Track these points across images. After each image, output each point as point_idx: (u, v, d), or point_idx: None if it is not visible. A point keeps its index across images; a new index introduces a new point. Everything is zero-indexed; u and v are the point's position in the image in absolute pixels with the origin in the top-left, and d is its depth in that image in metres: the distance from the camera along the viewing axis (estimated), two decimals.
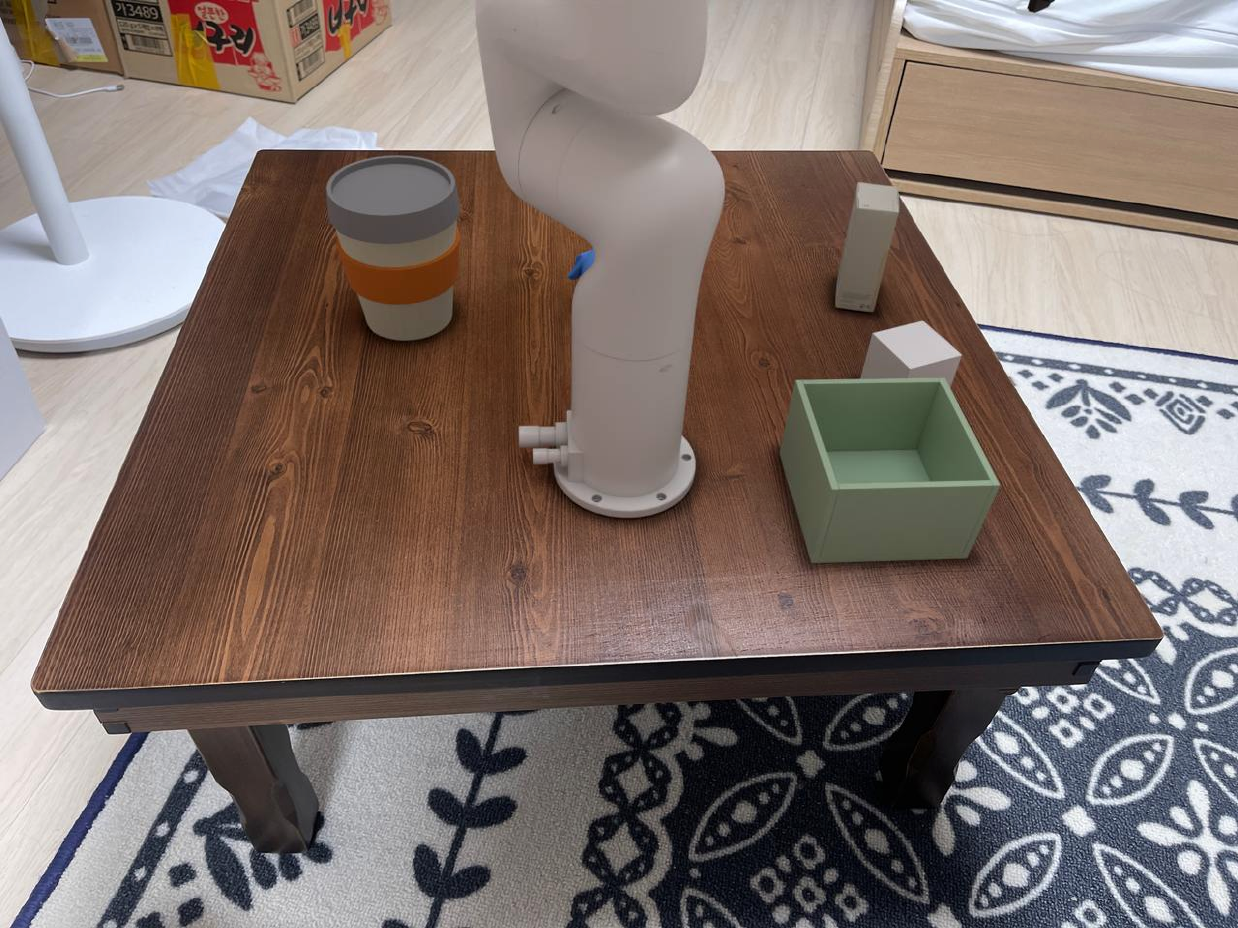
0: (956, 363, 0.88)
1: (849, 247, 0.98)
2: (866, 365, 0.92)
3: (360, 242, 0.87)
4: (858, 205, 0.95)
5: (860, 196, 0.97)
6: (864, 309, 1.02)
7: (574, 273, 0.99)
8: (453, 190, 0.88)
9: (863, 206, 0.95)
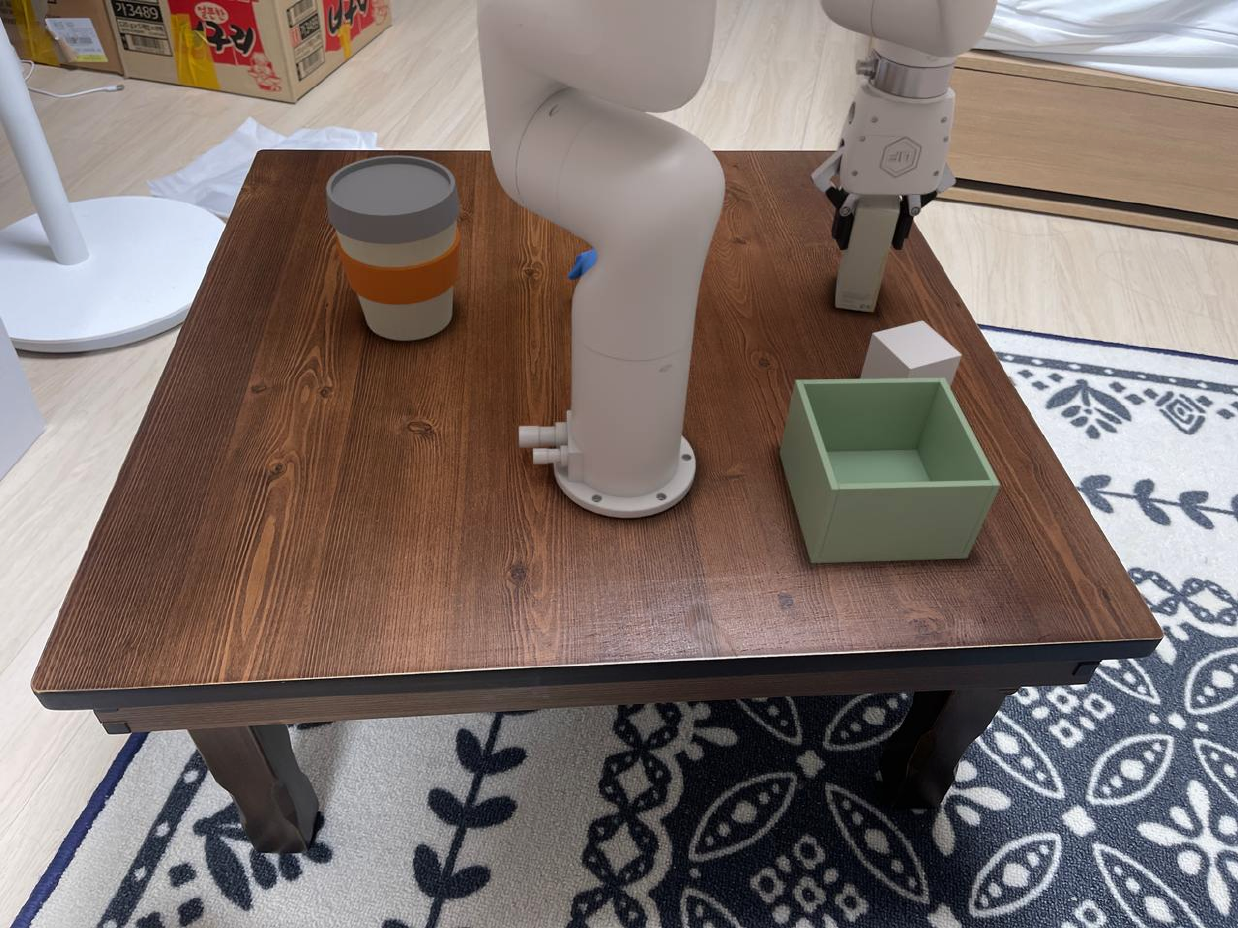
0: (956, 363, 0.88)
1: (849, 247, 0.98)
2: (866, 365, 0.92)
3: (360, 242, 0.87)
4: (859, 205, 0.95)
5: (861, 196, 0.97)
6: (864, 309, 1.02)
7: (574, 273, 0.99)
8: (453, 190, 0.88)
9: (863, 206, 0.95)
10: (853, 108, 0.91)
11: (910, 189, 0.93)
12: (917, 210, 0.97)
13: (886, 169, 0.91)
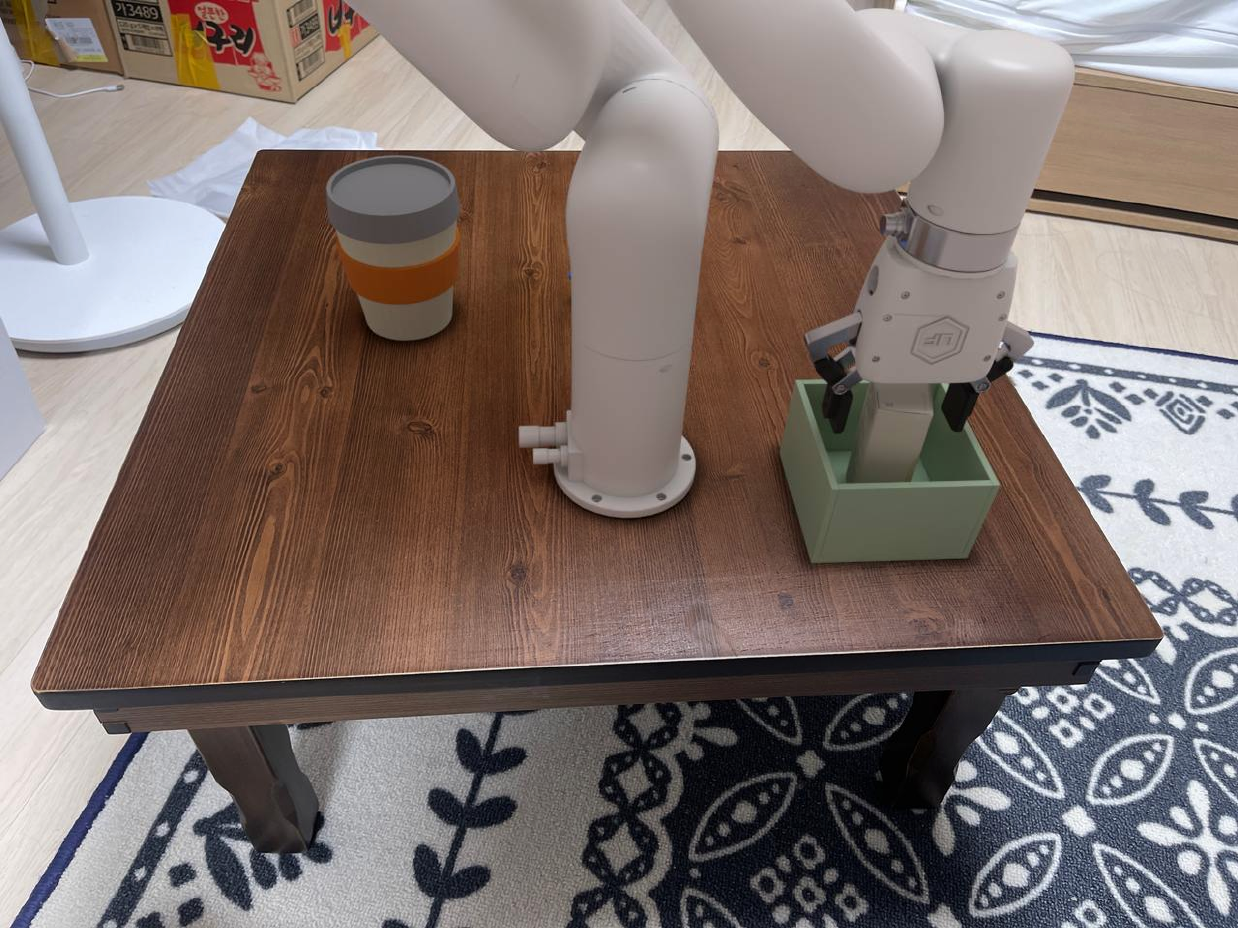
0: None
1: (866, 453, 0.74)
2: None
3: (360, 242, 0.87)
4: (878, 404, 0.71)
5: (880, 387, 0.73)
6: None
7: None
8: (453, 190, 0.88)
9: (885, 407, 0.71)
10: (875, 272, 0.66)
11: (951, 377, 0.68)
12: (985, 386, 0.71)
13: (919, 354, 0.67)
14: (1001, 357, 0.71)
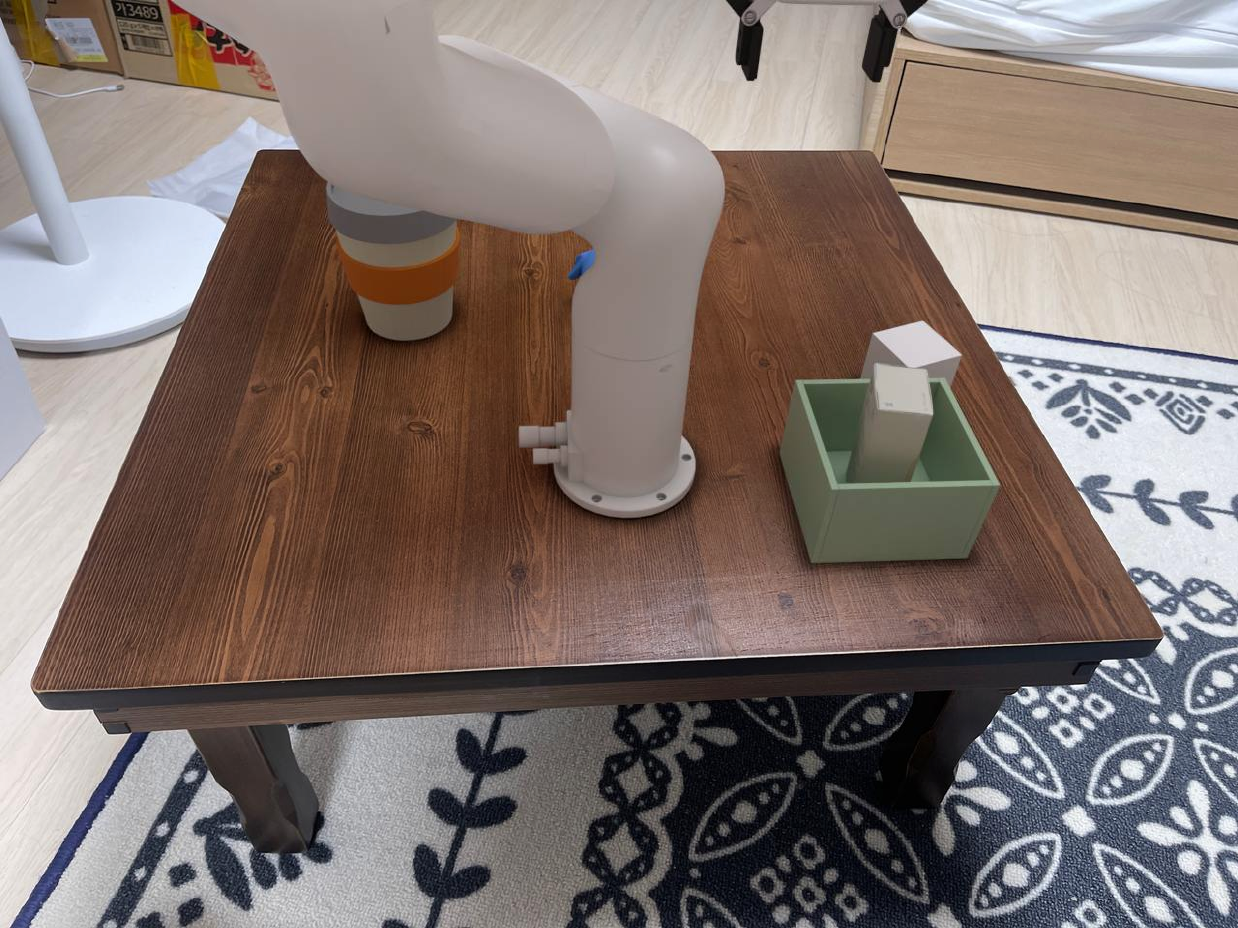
0: (956, 363, 0.88)
1: (866, 453, 0.74)
2: (866, 365, 0.92)
3: (360, 242, 0.87)
4: (878, 404, 0.71)
5: (880, 387, 0.73)
6: None
7: (574, 273, 0.99)
8: None
9: (885, 407, 0.71)
10: None
11: None
12: (902, 19, 0.68)
13: None
14: None
